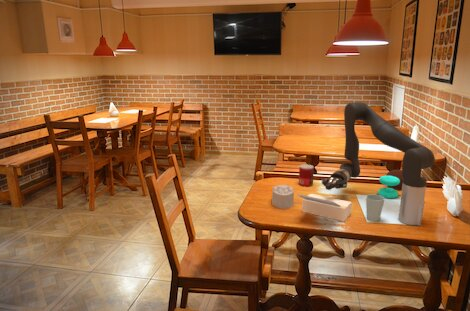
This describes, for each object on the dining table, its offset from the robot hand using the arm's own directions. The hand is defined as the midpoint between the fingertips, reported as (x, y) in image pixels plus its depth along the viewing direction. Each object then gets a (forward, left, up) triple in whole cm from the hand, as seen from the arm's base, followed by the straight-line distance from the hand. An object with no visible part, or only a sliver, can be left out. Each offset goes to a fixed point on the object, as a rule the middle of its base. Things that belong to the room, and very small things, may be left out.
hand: (327, 187), depth 169 cm
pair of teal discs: (-19, -40, -13) cm, 46 cm away
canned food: (+24, -32, -13) cm, 42 cm away
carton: (0, 0, -12) cm, 13 cm away
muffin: (-20, -56, -13) cm, 61 cm away
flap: (0, +5, -6) cm, 8 cm away
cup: (-20, -5, -13) cm, 24 cm away
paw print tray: (+22, +1, -13) cm, 25 cm away
